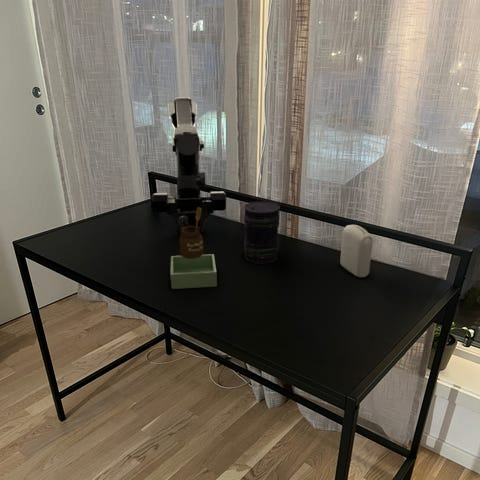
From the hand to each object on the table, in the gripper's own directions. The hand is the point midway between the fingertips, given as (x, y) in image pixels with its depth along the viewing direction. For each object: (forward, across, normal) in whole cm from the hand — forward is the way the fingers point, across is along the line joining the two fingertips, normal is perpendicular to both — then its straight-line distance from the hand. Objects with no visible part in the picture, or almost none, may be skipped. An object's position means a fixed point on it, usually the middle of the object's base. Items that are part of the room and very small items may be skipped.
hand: (190, 232), depth 129 cm
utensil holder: (+4, 0, +6) cm, 7 cm away
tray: (+9, 0, +10) cm, 13 cm away
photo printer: (+8, +44, +11) cm, 46 cm away
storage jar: (0, +20, +19) cm, 27 cm away
